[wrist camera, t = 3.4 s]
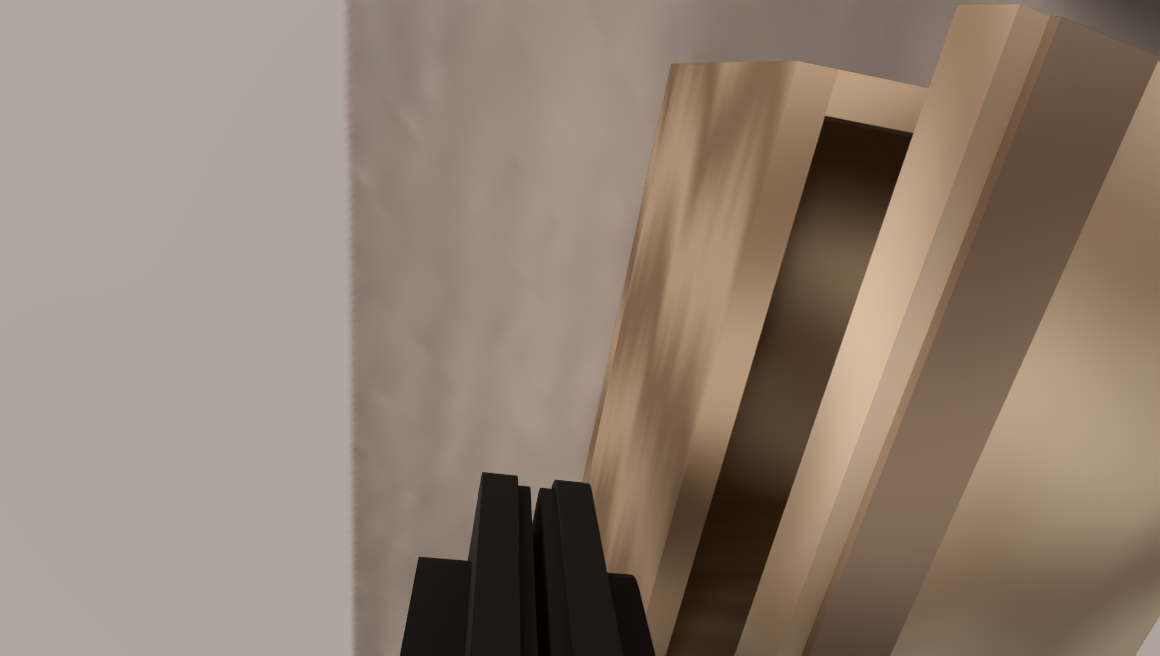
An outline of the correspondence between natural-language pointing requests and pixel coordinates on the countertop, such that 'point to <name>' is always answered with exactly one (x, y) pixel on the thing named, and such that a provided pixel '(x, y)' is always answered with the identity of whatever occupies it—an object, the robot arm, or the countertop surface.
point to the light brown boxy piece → (735, 325)
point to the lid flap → (993, 374)
